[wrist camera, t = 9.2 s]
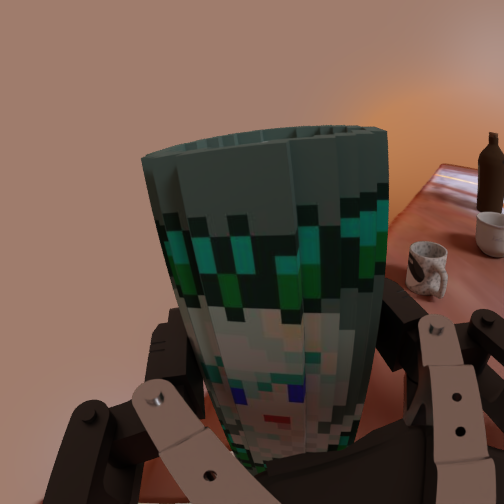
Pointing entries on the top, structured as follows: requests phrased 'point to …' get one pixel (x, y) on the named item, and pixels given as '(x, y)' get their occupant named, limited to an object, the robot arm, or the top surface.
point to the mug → (427, 269)
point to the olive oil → (491, 177)
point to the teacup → (490, 233)
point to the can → (278, 277)
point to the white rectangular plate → (156, 503)
